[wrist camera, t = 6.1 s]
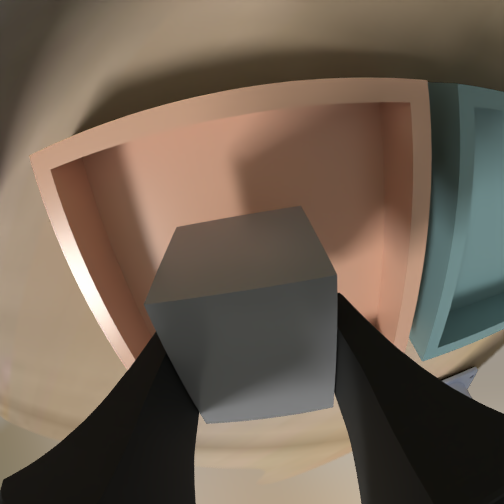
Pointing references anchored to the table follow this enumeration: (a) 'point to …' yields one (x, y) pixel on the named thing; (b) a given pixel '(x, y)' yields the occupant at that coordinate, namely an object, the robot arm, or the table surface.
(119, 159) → the terracotta bin
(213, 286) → the stone block
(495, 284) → the slate bin
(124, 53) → the table surface
